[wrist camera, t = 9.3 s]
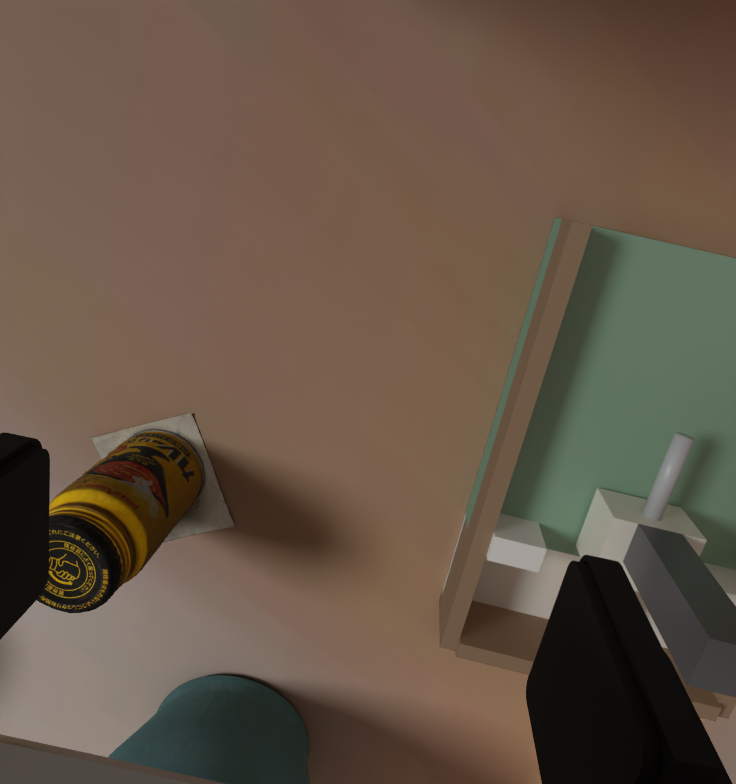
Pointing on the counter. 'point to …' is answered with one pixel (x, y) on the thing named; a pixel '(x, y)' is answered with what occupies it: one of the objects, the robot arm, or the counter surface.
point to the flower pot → (223, 734)
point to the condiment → (129, 510)
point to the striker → (669, 573)
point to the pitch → (598, 432)
